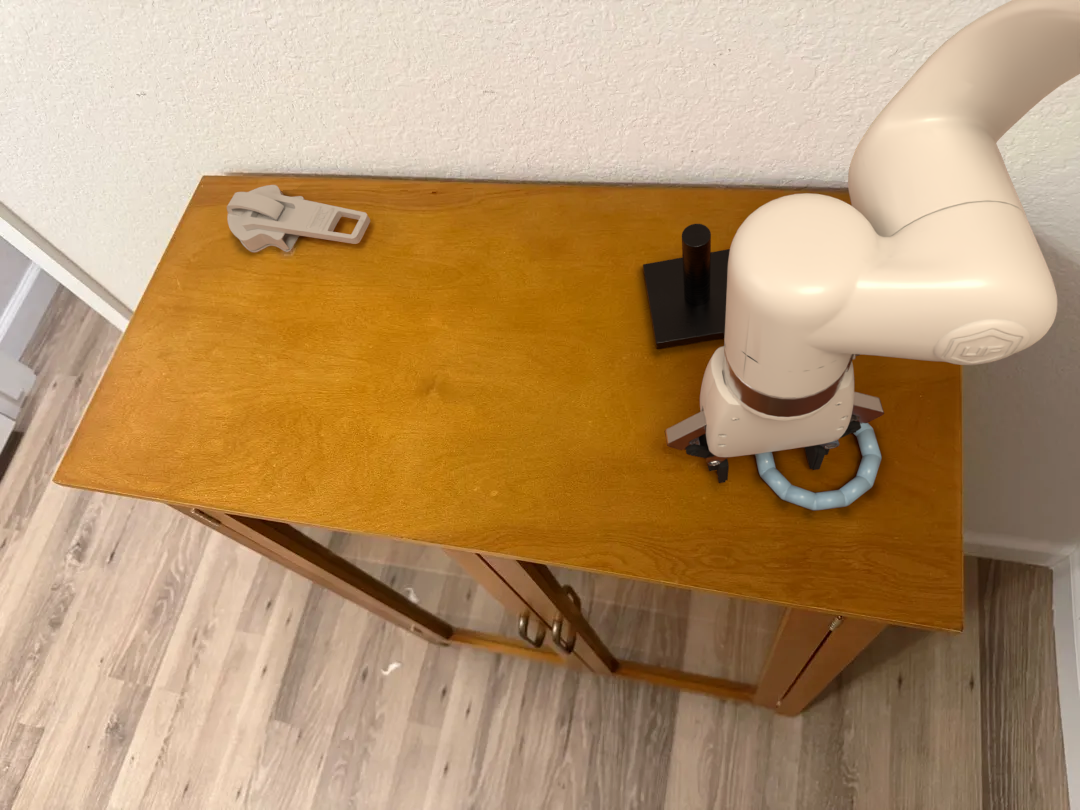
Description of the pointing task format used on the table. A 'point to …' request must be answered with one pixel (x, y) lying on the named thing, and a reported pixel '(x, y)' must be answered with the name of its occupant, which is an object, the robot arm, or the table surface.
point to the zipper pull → (286, 219)
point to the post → (689, 292)
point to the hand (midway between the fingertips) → (764, 459)
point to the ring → (828, 498)
